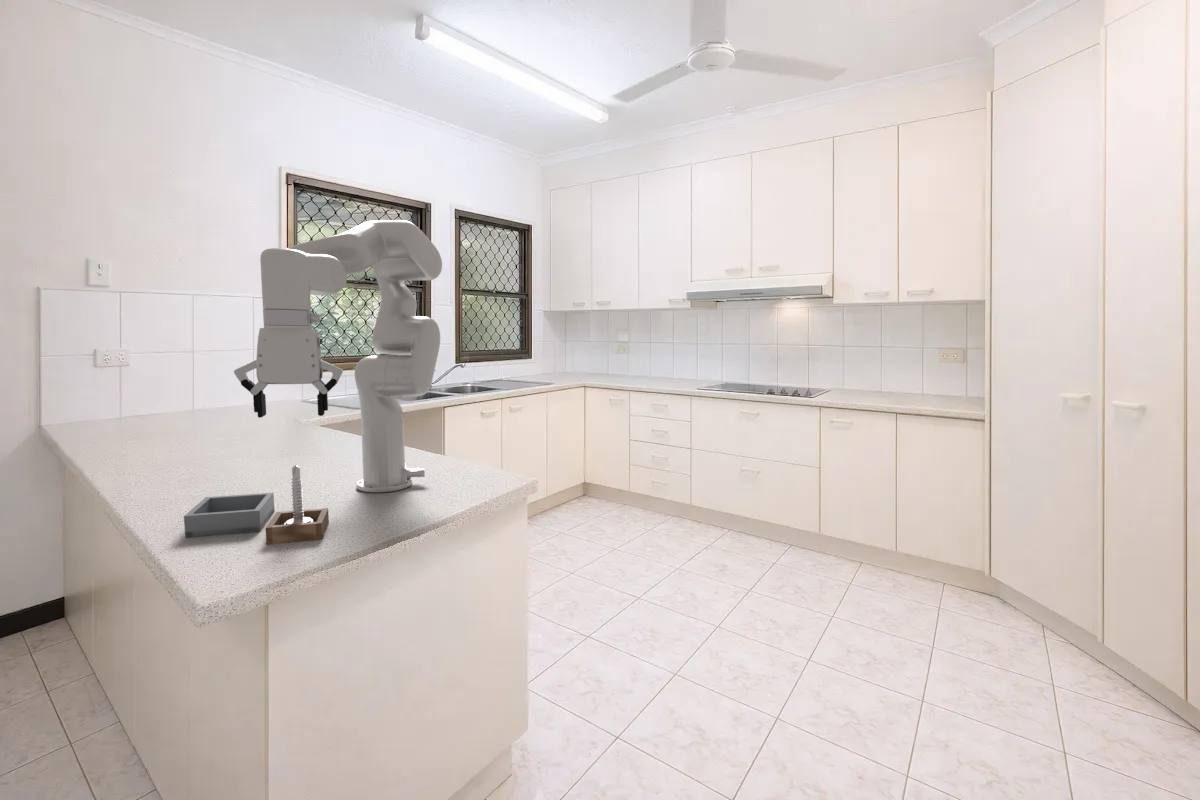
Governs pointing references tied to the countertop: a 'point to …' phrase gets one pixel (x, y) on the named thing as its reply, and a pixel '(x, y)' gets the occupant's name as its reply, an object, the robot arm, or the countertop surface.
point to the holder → (297, 527)
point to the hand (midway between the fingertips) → (292, 415)
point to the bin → (229, 514)
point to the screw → (297, 499)
